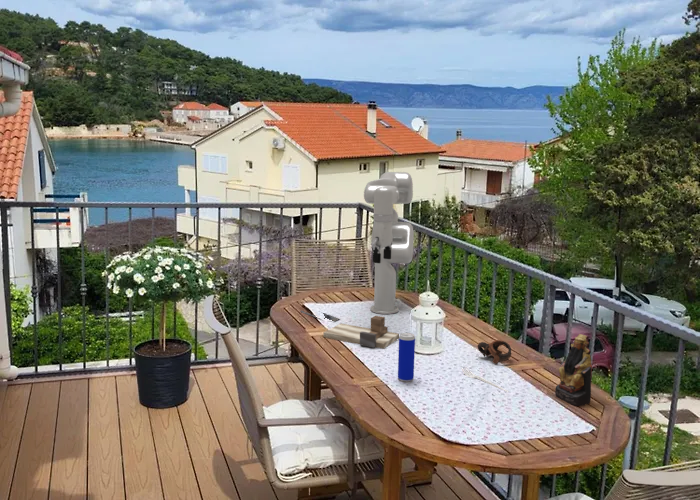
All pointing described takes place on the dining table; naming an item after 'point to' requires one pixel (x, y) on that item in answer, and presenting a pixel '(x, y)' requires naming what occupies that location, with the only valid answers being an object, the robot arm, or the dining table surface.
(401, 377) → the beverage can
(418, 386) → the dining table surface
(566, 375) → the statue
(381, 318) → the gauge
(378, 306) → the robot arm
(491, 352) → the brown looped ornament
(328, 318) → the driftwood
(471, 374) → the fork
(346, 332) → the board
